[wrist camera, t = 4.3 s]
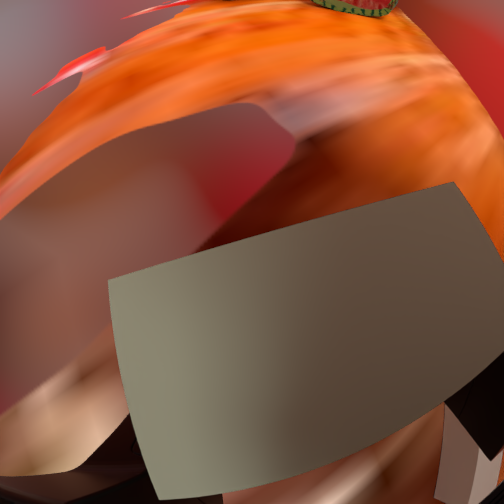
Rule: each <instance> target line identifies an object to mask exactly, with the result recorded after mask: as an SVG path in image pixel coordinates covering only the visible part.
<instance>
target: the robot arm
mask: <svg viewBox="0 0 504 504" xmlns="http://www.w3.org/2000/svg"><path fill="white" fill-rule="evenodd" d="M444 403H445V404H446V405H447V406H448V408H449V409H450V410H451V411H452V413H453V414H454V415H455V416H456V418H457V419H459V422H460V423H461V424H462V426H463V427H464V428H465V429H466V431H467V432H468V433H469V435H470V436H471V437H472V438H473V440H474V441H475V442H476V444H477V445H478V446H479V448H480V449H481V450H482V452H483V453H484V454H485V456H486V457H487V458H488V460H489V461H492V460H493V459H494V458H495V457H496V456H497V455H498V454H499V453H500V452H501V451H502V450H503V449H504V351H503V352H502V353H501V354H500V355H499V356H498V357H497V358H496V359H495V360H494V361H493V362H492V363H490V364H489V365H488V366H487V367H486V368H485V369H484V370H483V371H482V372H480V373H479V374H478V375H477V376H476V377H474V378H473V379H472V380H471V381H470V382H468V383H467V384H466V385H465V386H463V387H462V388H461V389H460V390H458V391H457V392H456V393H454V394H453V395H452V396H450V397H449V398H448V399H446V400H445V401H444ZM0 504H223V497H222V494H215V495H209V496H201V497H192V498H182V499H168V500H159V498H158V496H157V494H156V491H155V489H154V486H153V484H152V481H151V478H150V476H149V473H148V470H147V468H146V465H145V462H144V459H143V456H142V453H141V450H140V447H139V444H138V441H137V437H136V434H135V430H134V427H133V423H132V420H131V416H130V413H129V414H128V415H127V417H126V418H125V419H124V420H123V421H122V423H121V424H120V425H119V426H118V427H117V428H116V430H115V431H114V432H113V433H112V434H111V435H110V436H109V437H108V438H107V439H106V440H105V441H104V442H103V443H102V444H101V445H100V446H99V447H98V448H97V450H96V451H95V452H94V453H93V454H92V455H91V456H90V457H89V458H88V459H87V460H86V461H85V462H84V463H82V464H81V465H80V466H78V467H77V468H75V469H73V470H70V471H67V472H61V473H54V474H45V475H33V476H16V477H6V476H0ZM478 504H504V480H503V481H502V482H501V483H500V484H499V485H498V486H497V487H496V488H495V489H494V490H493V491H492V492H491V493H489V494H488V495H487V496H486V497H485V498H484V499H483V500H482V501H481V502H479V503H478Z"/></svg>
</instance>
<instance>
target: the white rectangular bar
mask: <svg viewBox="0 0 504 504" xmlns="http://www.w3.org/2000/svg"><path fill="white" fill-rule="evenodd" d="M502 455H503V450H502V451H501V452H500V453H499V454H498V455H497V456H496V457H495V458H494V459H493V460H492V461H489V460H488V458H487V457H486V456H485V454H484V453H483V452H482V450H481V449H480V448H479V446H478V445H477V444H476V442H475V441H474V440H473V438H472V437H471V436H470V435H469V433H468V432H467V431H466V429H465V428H464V427H463V426H462V424H461V423H460V422H459V419H457V418H456V416H455V415H454V414H453V413H452V411H451V410H450V409H449V408H448V406H447V405H446V404H445V413H444V430H443V441H442V451H441V459H440V466H439V472H438V478H437V483H436V489H435V494H434V498H436V499H438V500H440V501H442V502H444V503H446V504H478V503H479V502H481V501H482V500H483V499H484V498H485V497H486V496H487V495H488V494H489V493H491V492H492V491H493V490H494V489H495V488H496V485H497V481H498V476H499V471H500V466H501V461H502Z"/></svg>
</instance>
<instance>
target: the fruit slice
mask: <svg viewBox="0 0 504 504" xmlns="http://www.w3.org/2000/svg"><path fill="white" fill-rule="evenodd" d="M311 1H313V2H314V3H316V4H319V5H322V6H324V7H327V8H331V9H333V10H336V11H340V12H346V13H351V14H358V15H365V16H383V15H387V14H389V13H390V12H391V10H393V8H394V7H395V6H396V5H397V3H398V0H311Z"/></svg>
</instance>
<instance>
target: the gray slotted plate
mask: <svg viewBox="0 0 504 504" xmlns="http://www.w3.org/2000/svg"><path fill="white" fill-rule="evenodd" d="M108 288H109V299H110V309H111V317H112V325H113V332H114V339H115V345H116V351H117V357H118V363H119V368H120V373H121V378H122V383H123V387H124V392H125V396H126V400H127V404H128V408H129V412H130V416H131V420H132V423H133V427H134V430H135V434H136V437H137V441H138V444H139V447H140V450H141V453H142V456H143V459H144V462H145V465H146V468H147V470H148V473H149V476H150V478H151V481H152V484H153V486H154V489H155V491H156V494H157V496H158V498H159V500H168V499H182V498H192V497H201V496H209V495H215V494H222V493H227V492H233V491H238V490H243V489H247V488H252V487H256V486H260V485H264V484H268V483H272V482H276V481H279V480H283V479H286V478H289V477H293V476H296V475H299V474H302V473H305V472H308V471H311V470H313V469H316V468H319V467H322V466H324V465H327V464H329V463H332V462H334V461H337V460H339V459H342V458H344V457H346V456H348V455H351V454H353V453H355V452H357V451H360V450H362V449H364V448H366V447H368V446H370V445H372V444H374V443H376V442H378V441H380V440H382V439H384V438H385V437H387V436H389V435H391V434H393V433H395V432H396V431H398V430H400V429H402V428H403V427H405V426H407V425H408V424H410V423H412V422H413V421H415V420H417V419H418V418H420V417H421V416H423V415H424V414H426V413H427V412H429V411H431V410H432V409H433V408H435V407H436V406H438V405H439V404H441V403H442V402H444V401H445V400H446V399H448V398H449V397H450V396H452V395H453V394H454V393H456V392H457V391H458V390H460V389H461V388H462V387H463V386H465V385H466V384H467V383H468V382H470V381H471V380H472V379H473V378H474V377H476V376H477V375H478V374H479V373H480V372H482V371H483V370H484V369H485V368H486V367H487V366H488V365H489V364H490V363H492V362H493V361H494V360H495V359H496V358H497V357H498V356H499V355H500V354H501V353H502V352H503V351H504V263H503V261H502V259H501V257H500V255H499V254H498V252H497V250H496V248H495V246H494V244H493V242H492V241H491V239H490V237H489V235H488V233H487V232H486V230H485V228H484V227H483V225H482V223H481V222H480V220H479V218H478V217H477V215H476V214H475V212H474V211H473V209H472V207H471V206H470V204H469V203H468V201H467V200H466V198H465V197H464V196H463V194H462V193H461V191H460V190H459V188H458V187H457V186H456V184H455V183H454V182H450V183H446V184H442V185H438V186H435V187H431V188H427V189H423V190H419V191H415V192H412V193H408V194H404V195H400V196H397V197H393V198H389V199H385V200H382V201H378V202H374V203H371V204H367V205H363V206H360V207H356V208H352V209H349V210H345V211H341V212H338V213H334V214H331V215H327V216H323V217H320V218H316V219H313V220H309V221H306V222H302V223H299V224H295V225H291V226H288V227H284V228H281V229H277V230H274V231H270V232H267V233H264V234H260V235H257V236H253V237H250V238H246V239H243V240H239V241H236V242H233V243H229V244H226V245H222V246H219V247H216V248H212V249H209V250H205V251H202V252H199V253H195V254H192V255H189V256H185V257H182V258H179V259H176V260H172V261H169V262H166V263H162V264H159V265H156V266H152V267H149V268H146V269H143V270H139V271H136V272H133V273H130V274H127V275H123V276H120V277H117V278H114V279H111V280H108Z"/></svg>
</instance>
